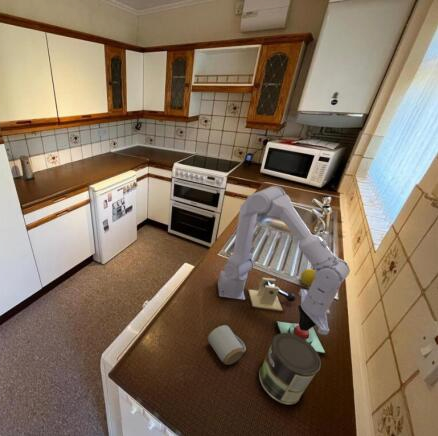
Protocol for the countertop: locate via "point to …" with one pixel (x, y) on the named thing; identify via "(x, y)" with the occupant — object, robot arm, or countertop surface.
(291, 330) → the control block
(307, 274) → the lemon
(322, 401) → the countertop surface
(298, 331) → the button
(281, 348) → the coffee can
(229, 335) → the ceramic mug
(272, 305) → the lever bracket
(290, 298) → the press lever
